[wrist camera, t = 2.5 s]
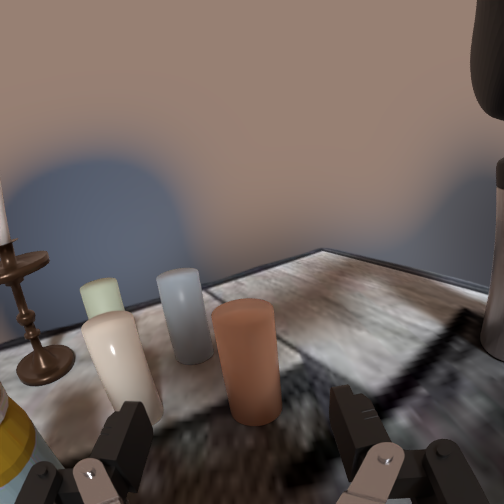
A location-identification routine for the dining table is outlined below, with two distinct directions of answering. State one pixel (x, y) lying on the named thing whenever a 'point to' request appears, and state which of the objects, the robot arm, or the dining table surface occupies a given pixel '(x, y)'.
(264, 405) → the terracotta canister
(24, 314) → the candlestick
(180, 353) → the dusty blue canister
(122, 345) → the cream canister
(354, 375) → the dining table surface
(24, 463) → the bottle
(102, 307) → the sage canister
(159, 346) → the dining table surface
